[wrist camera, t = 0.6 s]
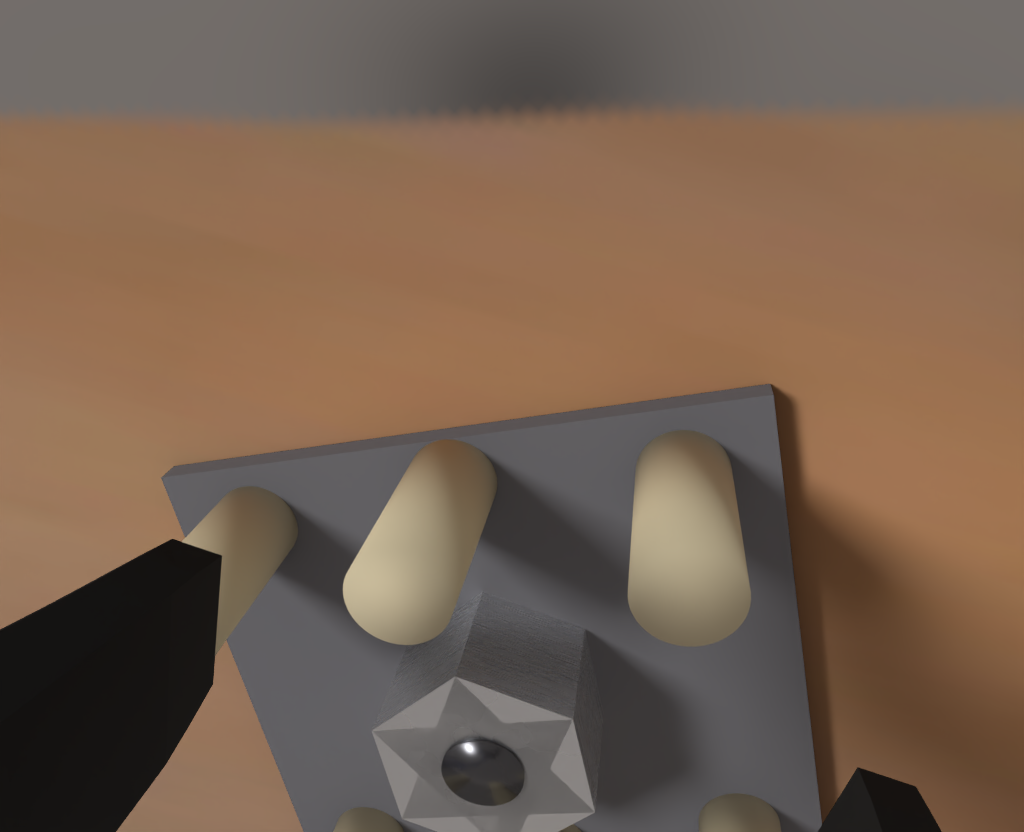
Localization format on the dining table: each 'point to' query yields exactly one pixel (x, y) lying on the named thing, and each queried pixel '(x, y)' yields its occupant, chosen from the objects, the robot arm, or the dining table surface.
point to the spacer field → (529, 598)
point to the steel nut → (494, 723)
